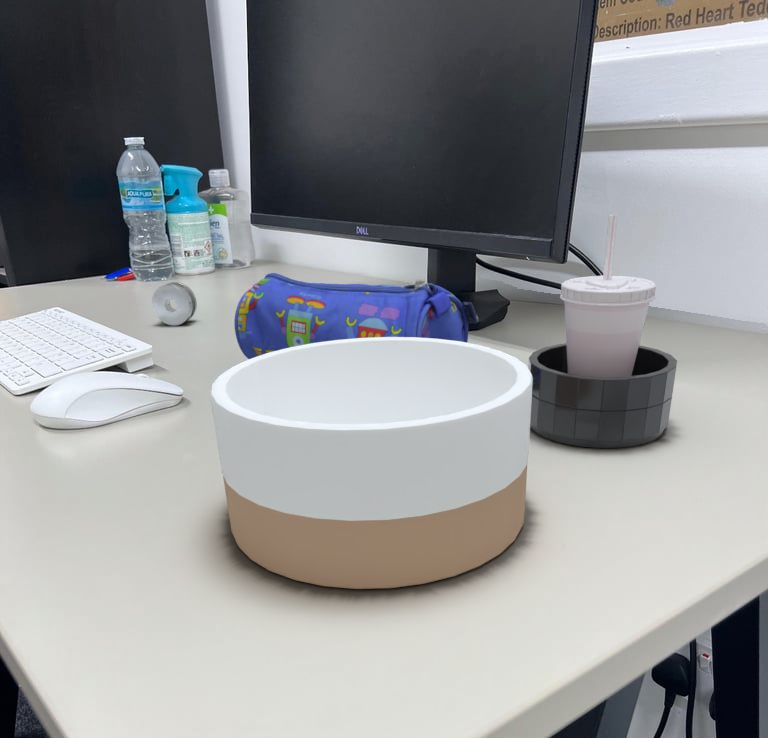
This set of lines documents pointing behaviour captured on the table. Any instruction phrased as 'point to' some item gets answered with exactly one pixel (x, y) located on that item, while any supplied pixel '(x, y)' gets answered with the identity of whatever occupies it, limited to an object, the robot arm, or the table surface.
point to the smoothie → (605, 318)
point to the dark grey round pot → (601, 400)
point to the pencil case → (345, 313)
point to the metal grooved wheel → (182, 299)
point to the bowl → (374, 458)
